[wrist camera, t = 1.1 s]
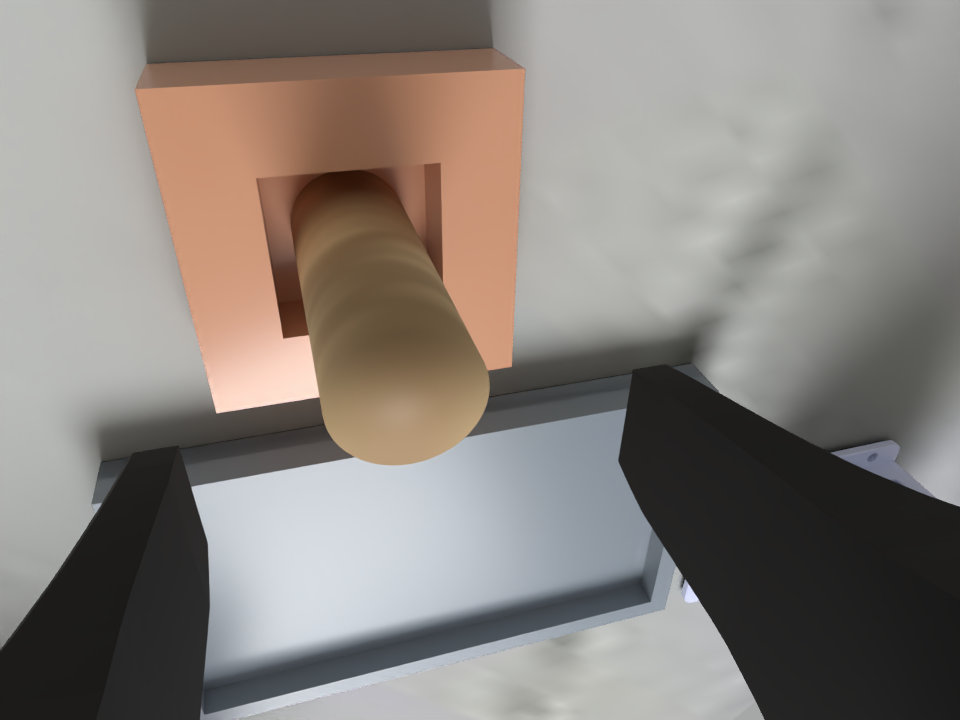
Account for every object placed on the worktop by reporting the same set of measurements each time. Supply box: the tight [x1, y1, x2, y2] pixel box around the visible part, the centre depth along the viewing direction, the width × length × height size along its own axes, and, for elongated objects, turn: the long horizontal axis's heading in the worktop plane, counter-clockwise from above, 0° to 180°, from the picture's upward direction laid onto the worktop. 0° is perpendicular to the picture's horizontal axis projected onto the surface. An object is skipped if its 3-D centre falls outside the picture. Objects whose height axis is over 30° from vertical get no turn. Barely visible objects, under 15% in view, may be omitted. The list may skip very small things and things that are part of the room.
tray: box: [91, 364, 719, 720], centre depth 26 cm, size 20×12×2 cm, turn 89°
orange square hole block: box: [135, 48, 525, 413], centre depth 18 cm, size 8×8×2 cm
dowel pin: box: [291, 170, 490, 466], centre depth 16 cm, size 3×3×8 cm
